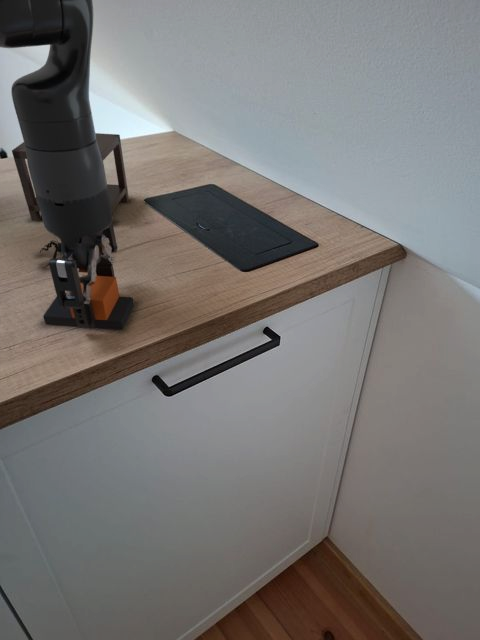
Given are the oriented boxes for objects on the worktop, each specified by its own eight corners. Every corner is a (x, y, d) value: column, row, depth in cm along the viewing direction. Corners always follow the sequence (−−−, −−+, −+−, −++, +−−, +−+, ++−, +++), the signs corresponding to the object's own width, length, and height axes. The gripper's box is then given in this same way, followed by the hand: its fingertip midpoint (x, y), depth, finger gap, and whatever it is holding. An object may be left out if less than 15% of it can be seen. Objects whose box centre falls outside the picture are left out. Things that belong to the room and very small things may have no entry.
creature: (32, 274, 74) (78, 271, 72) (15, 242, 70) (62, 237, 68) (58, 250, 80) (101, 246, 78) (43, 219, 76) (87, 214, 74)
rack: (31, 221, 85) (11, 150, 77) (56, 196, 93) (40, 129, 85) (111, 226, 84) (99, 155, 76) (129, 200, 93) (119, 134, 85)
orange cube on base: (45, 325, 63) (36, 296, 60) (61, 301, 67) (54, 272, 64) (122, 330, 62) (117, 301, 59) (134, 306, 66) (129, 277, 64)
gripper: (61, 159, 59) (88, 276, 69) (6, 209, 48) (48, 338, 58) (123, 163, 58) (140, 279, 69) (82, 213, 48) (110, 342, 58)
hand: (98, 306), depth 64 cm, fingers open, 8 cm apart
